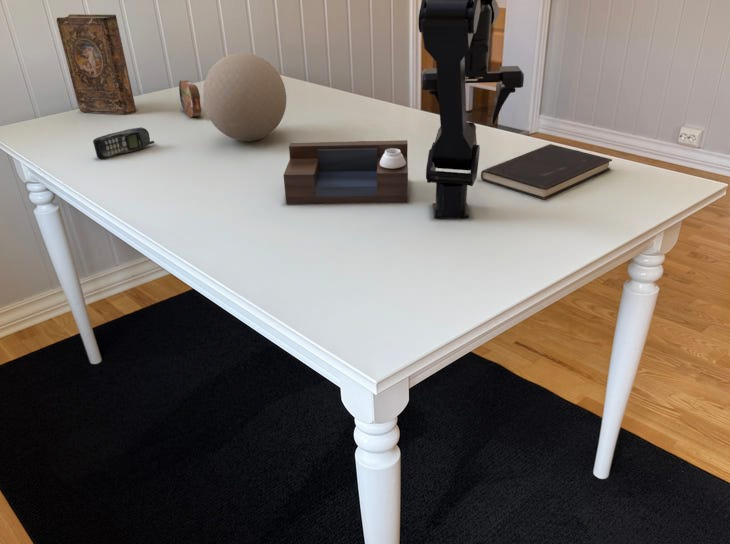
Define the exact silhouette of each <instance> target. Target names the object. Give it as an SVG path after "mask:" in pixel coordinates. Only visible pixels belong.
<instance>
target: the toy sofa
mask: <svg viewBox="0 0 730 544" xmlns="http://www.w3.org/2000/svg"><path fill="white" fill-rule="evenodd" d="M408 144H409V143H408V140H407V139H406V140H405V139H403V140H355V141H354V140H353V141H351V140H350V141H311V142H309V141H308V142H307V141H306V142H290V143H289V145H288V153H289V160H288V162H287V165H286V168H285V170H284V172H283V176H282V177H283V185H284V195H285V205H334V204H335V205H336V204H337V205H338V204H340V205H341V204H343V205H345V204H406V203H407V204H408V203H409V162H408V155H409V154H408V153H409V152H408V146H409V145H408ZM387 149H399V150H400V151H401V154H402V155H403V157H404V159H405V161H406V164H405V165H404V166H402V167H400V168H397V169H388V168H384V167H382V166H380V160H381V158H382V156H383V154H385V150H387Z"/></svg>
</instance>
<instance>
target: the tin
mask: <svg viewBox="0 0 730 544" xmlns="http://www.w3.org/2000/svg"><path fill="white" fill-rule="evenodd" d="M178 84H179V85H178V91H179V92H178V93H179V99H180V103H181V104H180V105H181V108H182V110H183V112H184V113H185V114H187V116H188V117H190V118H195V117H200V116H201V115H202V107H201V95H200V94H201V93H200V91H199V87H197V85H196V84H194V83H193V82H192V81H191V80H180V81H179V83H178Z"/></svg>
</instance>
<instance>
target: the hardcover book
mask: <svg viewBox="0 0 730 544" xmlns="http://www.w3.org/2000/svg"><path fill="white" fill-rule="evenodd" d="M612 161H613V159H612V158H608V157H604V156H600V155H596V154H592V153H588V152H584V151H580V150H575V149H572V148H569V147H565V146H560V145H555V144H552V143H549V144H546V145H544V146H541V147H539V148H536V149H534V150H530V151H528V152H526V153H523V154H520V155H518V156H516V157H513V158H510V159H507V160H505V161H503V162H500V163H498V164H495V165H492V166H490V167H487V168H485V169H483V170H481V172H480V179H481V180H482V182H485V183H488V184H492V185H494V186H499V187H502V188H504V189H508V190H511V191H515V192H518V193H521V194H524V195H527V196H531V197H533V198H537V199H540V200H543V201H545V200H548V199H550V198H551V197H554V196H557V195H558V194H561V193H563V192H565V191H567V190H569V189H572V188H573V187H576V186H578V185H580V184H582V183H585V182H586V181H590V180H591V179H593V178H596V177H598V176H600V175H602V174H604V173H606V172H609V171H611V168H610V162H612Z"/></svg>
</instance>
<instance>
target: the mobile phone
mask: <svg viewBox="0 0 730 544" xmlns="http://www.w3.org/2000/svg"><path fill="white" fill-rule="evenodd" d="M92 143H93V148H94V150H95V155H96V157H97V159H99V160H100V159H107V158H112V157H116V156H120V155H123V154H129V153H133V152H137V151H139V150H142V149H144V148H146V147H148V146H149V145H153V144H155V141H154V140H151V138H150V132H149V131H148V130H147V128H145V127H133V128H129V129H124V130H120V131H116V132H112V133H108V134H104V135H102V136H98V137H96V138H94V139H93V141H92Z"/></svg>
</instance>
